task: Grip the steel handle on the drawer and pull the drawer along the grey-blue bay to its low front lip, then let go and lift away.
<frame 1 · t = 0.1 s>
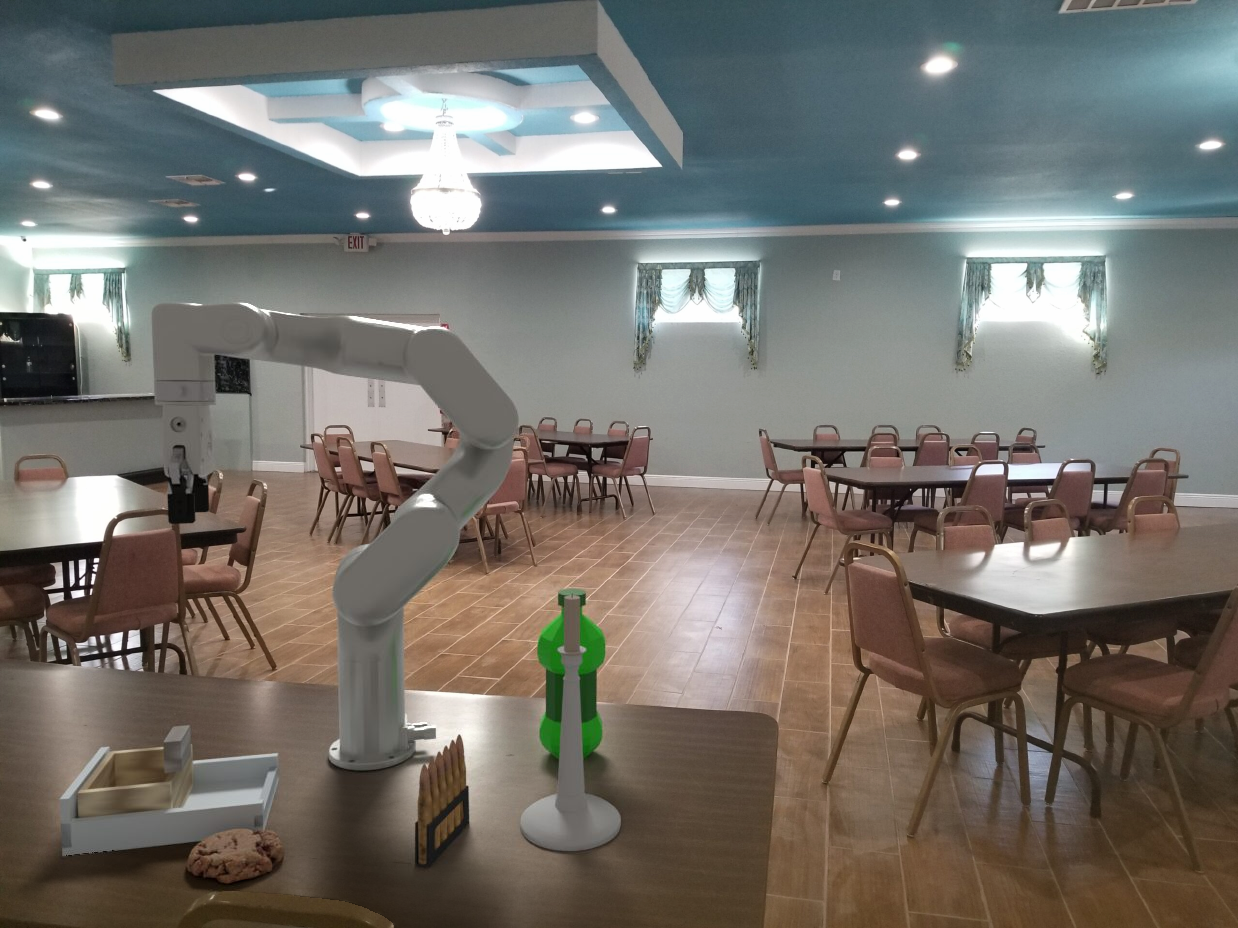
hand: (189, 517, 120), 37 cm above the table, tool pointing down, fingers open, 9 cm apart
bay: (180, 814, 111), on the table
candlestick: (570, 825, 110), on the table
drawer: (141, 773, 109), point 6 cm above the table, slide at 0.0 cm
cookie: (236, 865, 100), on the table
ammunition clip: (443, 844, 105), on the table
plastic bottle: (571, 755, 130), on the table
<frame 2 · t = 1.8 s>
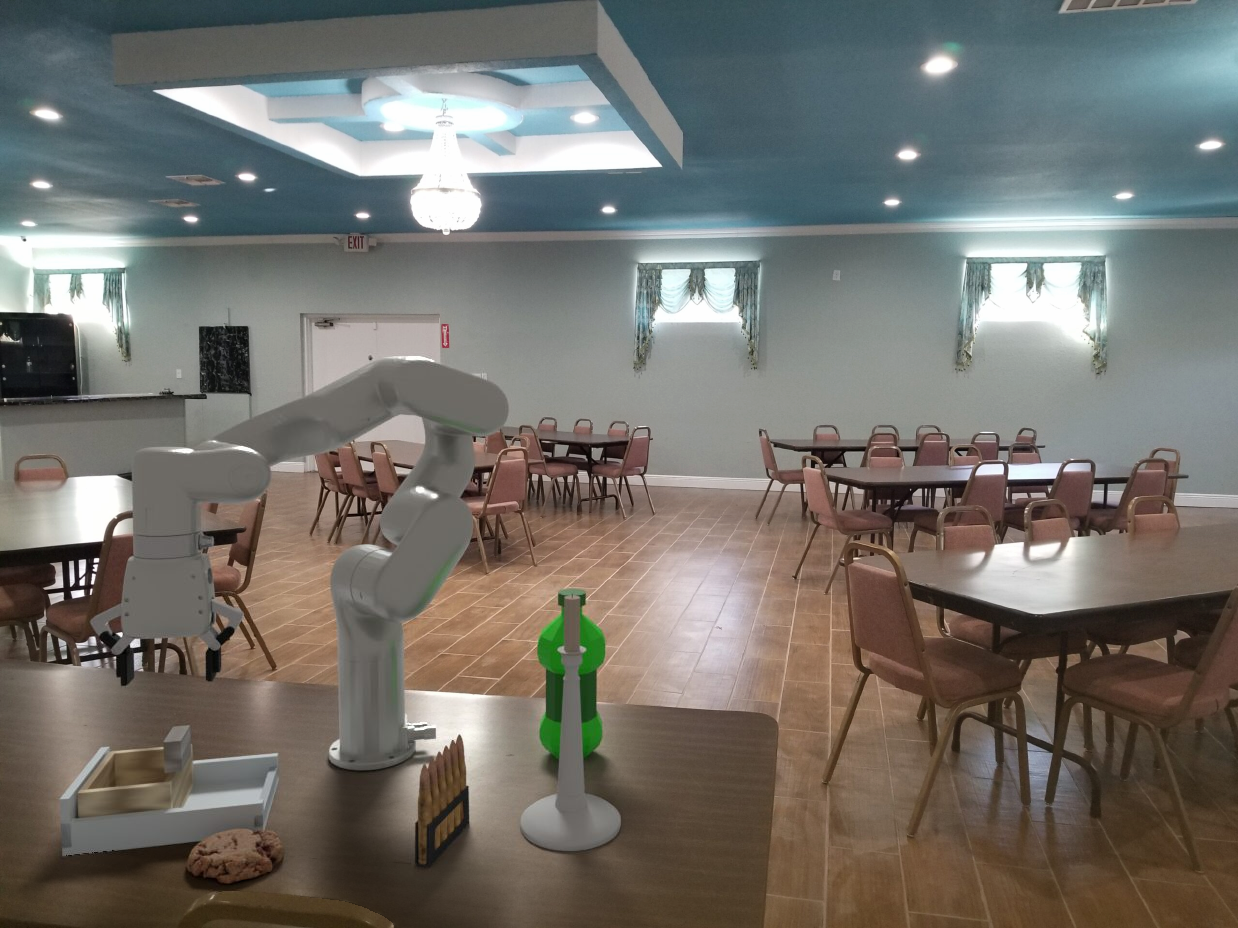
hand: (170, 680, 109), 18 cm above the table, tool pointing down, fingers open, 9 cm apart
nothing on the table moved.
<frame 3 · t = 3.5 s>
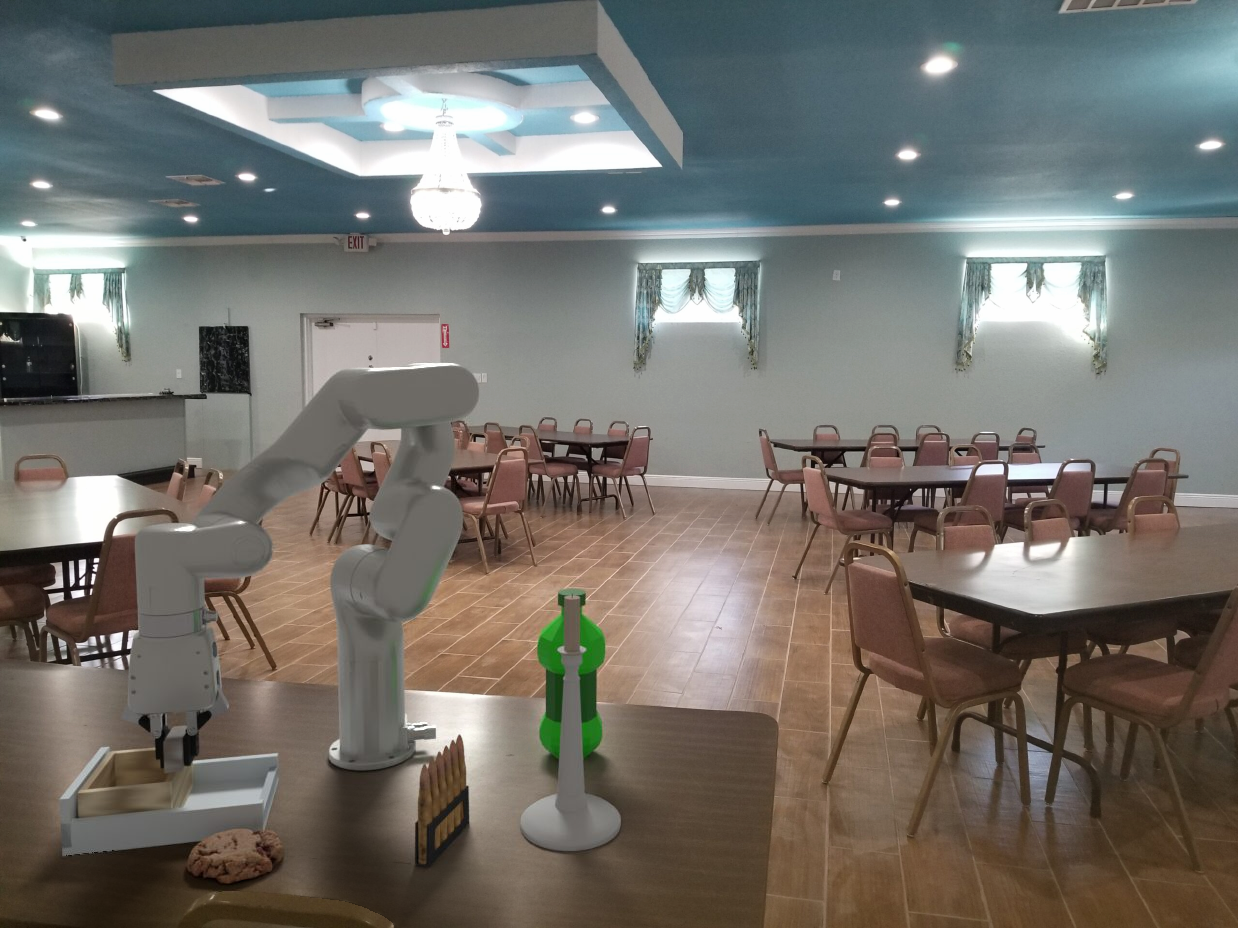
hand: (178, 761, 110), 7 cm above the table, tool pointing down, fingers closed on drawer, 2 cm apart
drawer: (141, 773, 109), point 6 cm above the table, slide at 0.0 cm, touching gripper
everything else where it was.
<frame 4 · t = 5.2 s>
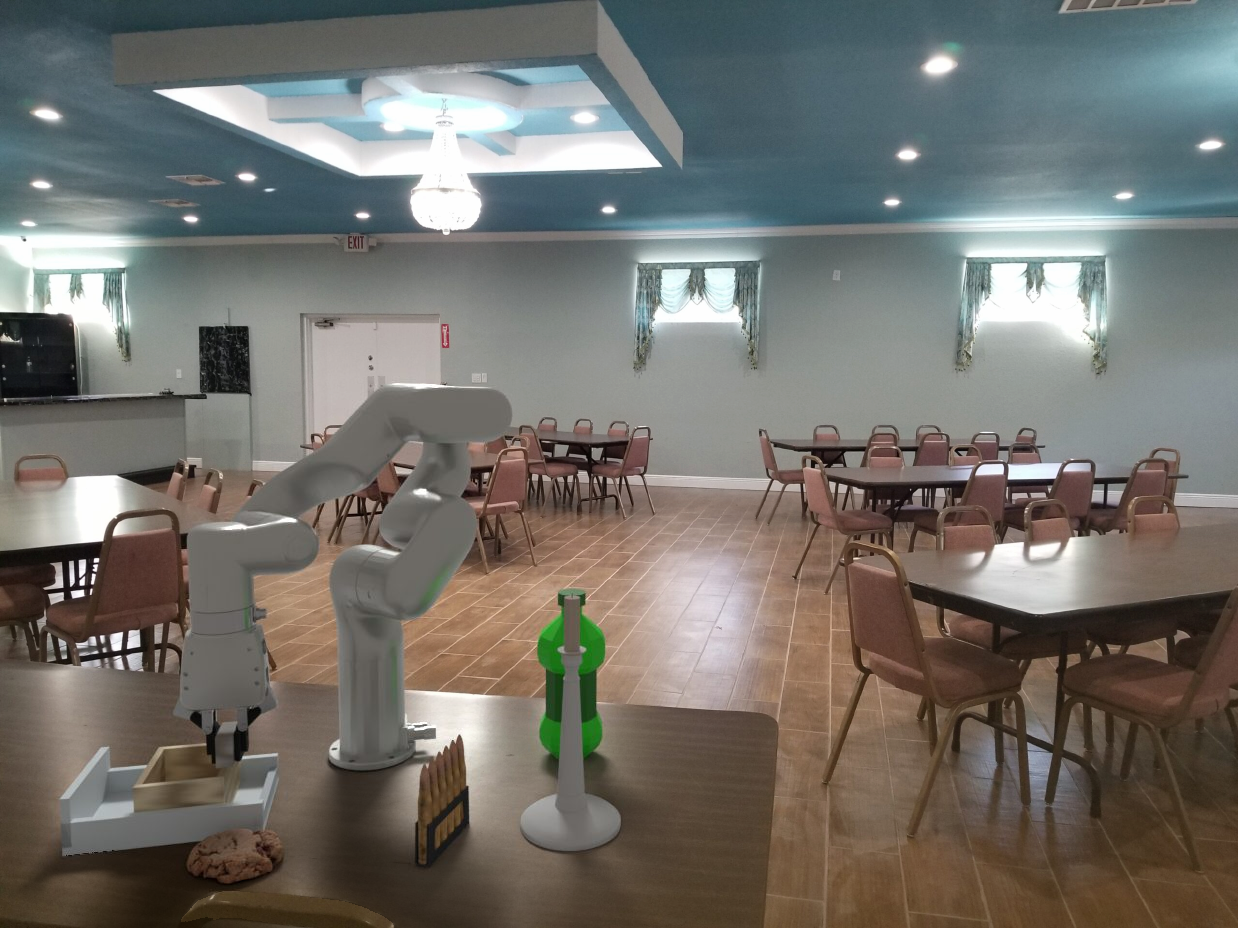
hand: (228, 756, 112), 7 cm above the table, tool pointing down, fingers closed on drawer, 2 cm apart
drawer: (192, 768, 111), point 6 cm above the table, slide at 5.9 cm, touching gripper
everything else where it was.
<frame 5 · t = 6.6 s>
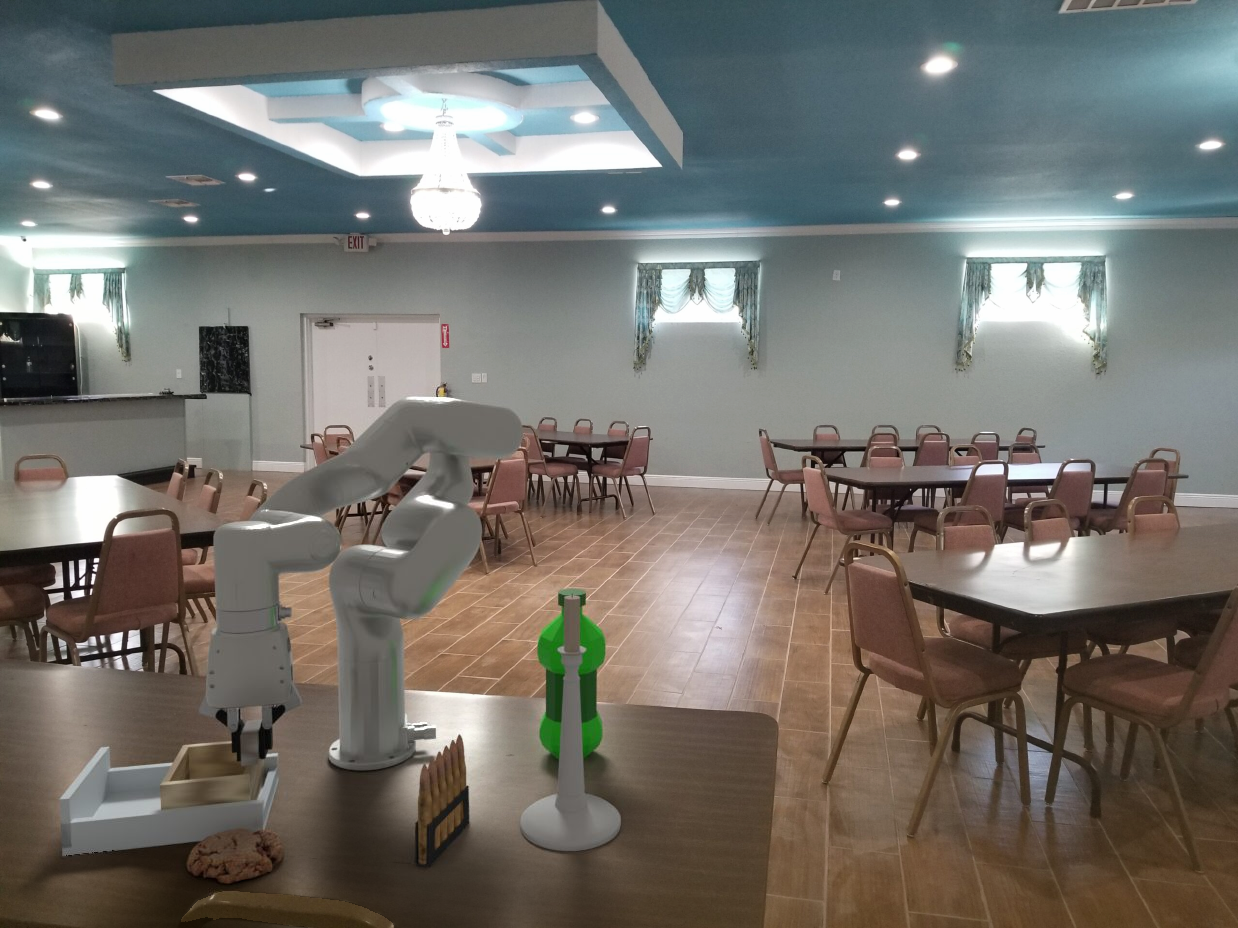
hand: (252, 754, 112), 7 cm above the table, tool pointing down, fingers closed on drawer, 2 cm apart
drawer: (217, 766, 111), point 6 cm above the table, slide at 8.9 cm, touching gripper
everything else where it was.
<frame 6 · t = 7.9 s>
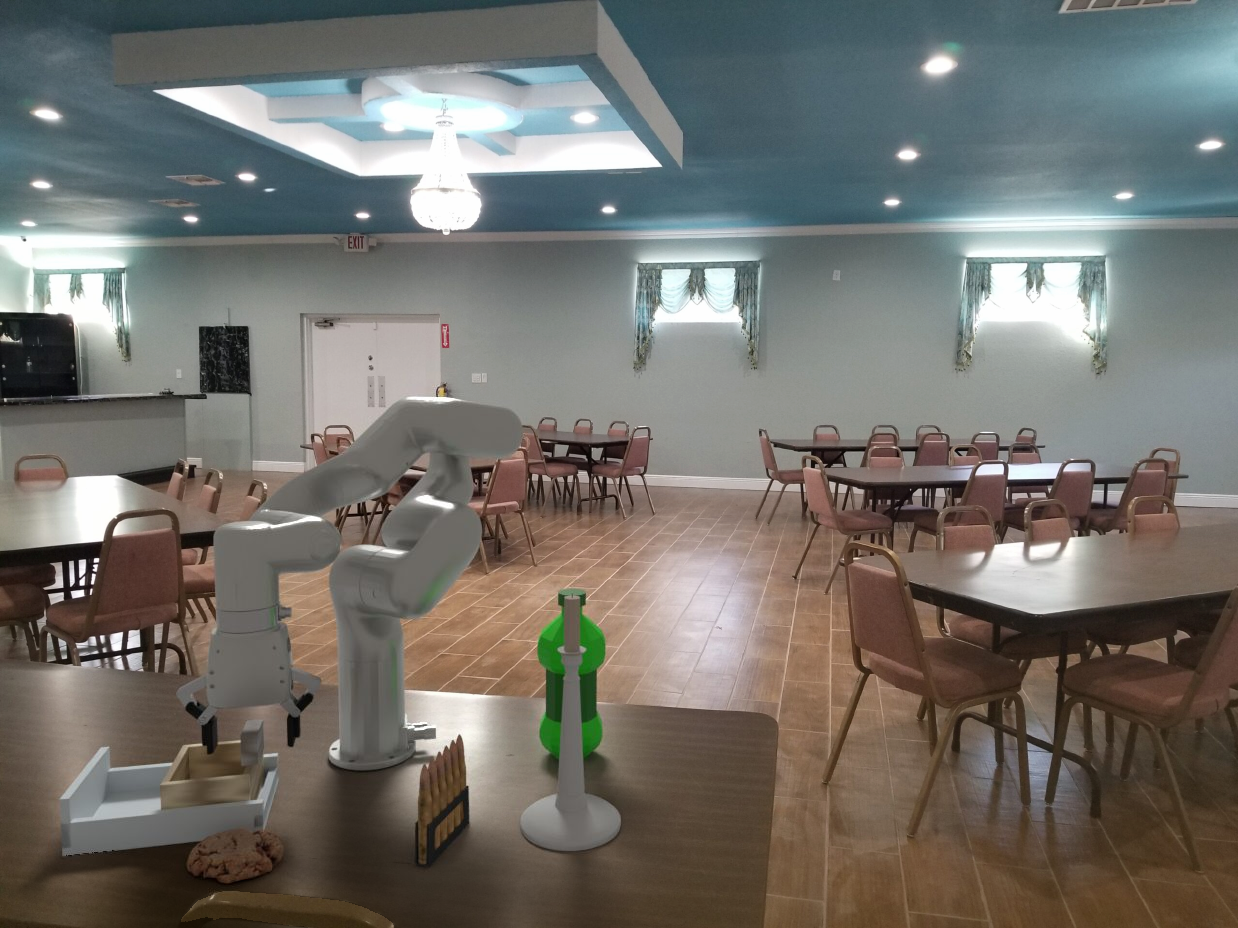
hand: (252, 746, 112), 8 cm above the table, tool pointing down, fingers open, 9 cm apart
drawer: (217, 766, 111), point 6 cm above the table, slide at 8.9 cm
everything else where it was.
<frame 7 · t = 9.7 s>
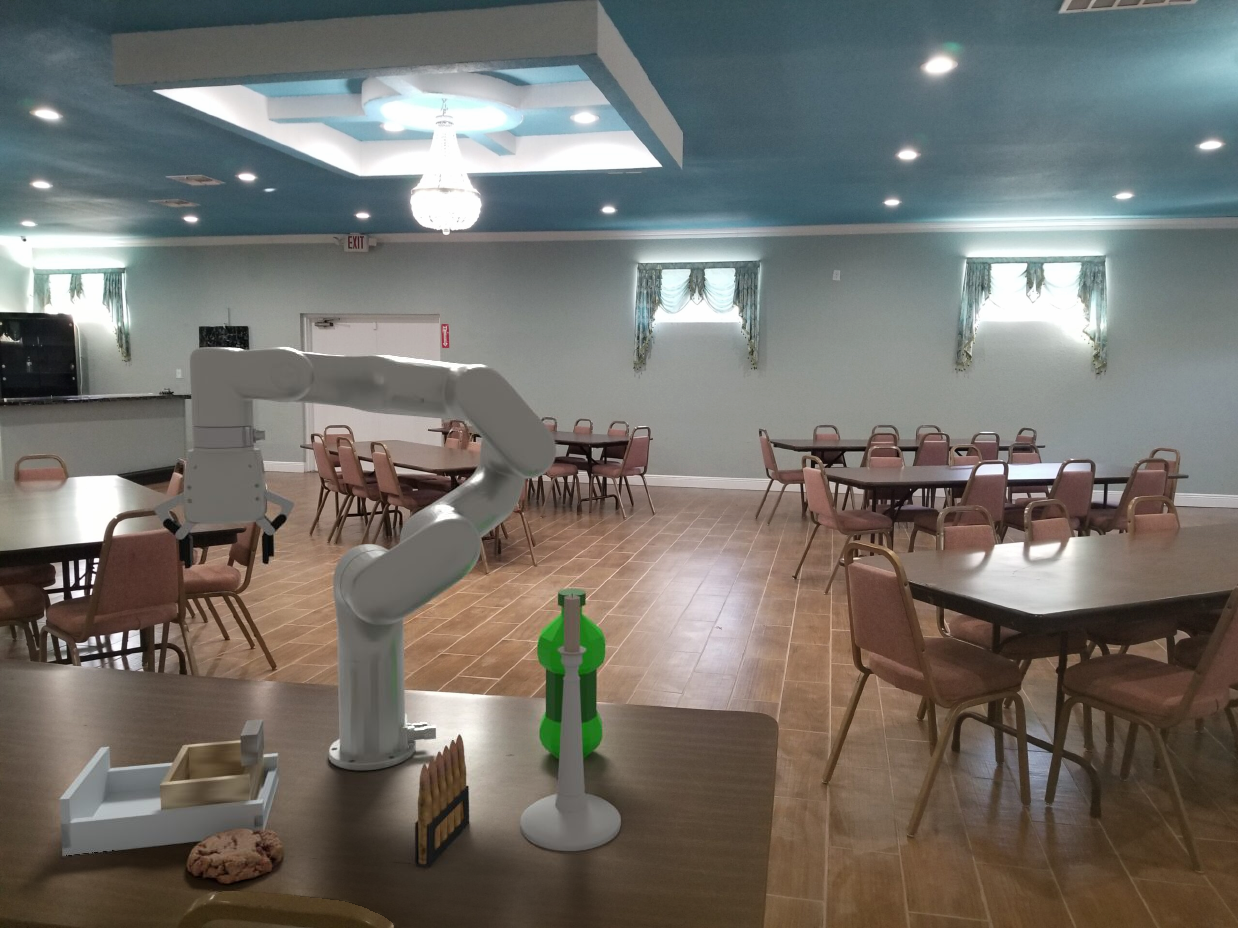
hand: (228, 564, 118), 31 cm above the table, tool pointing down, fingers open, 9 cm apart
nothing on the table moved.
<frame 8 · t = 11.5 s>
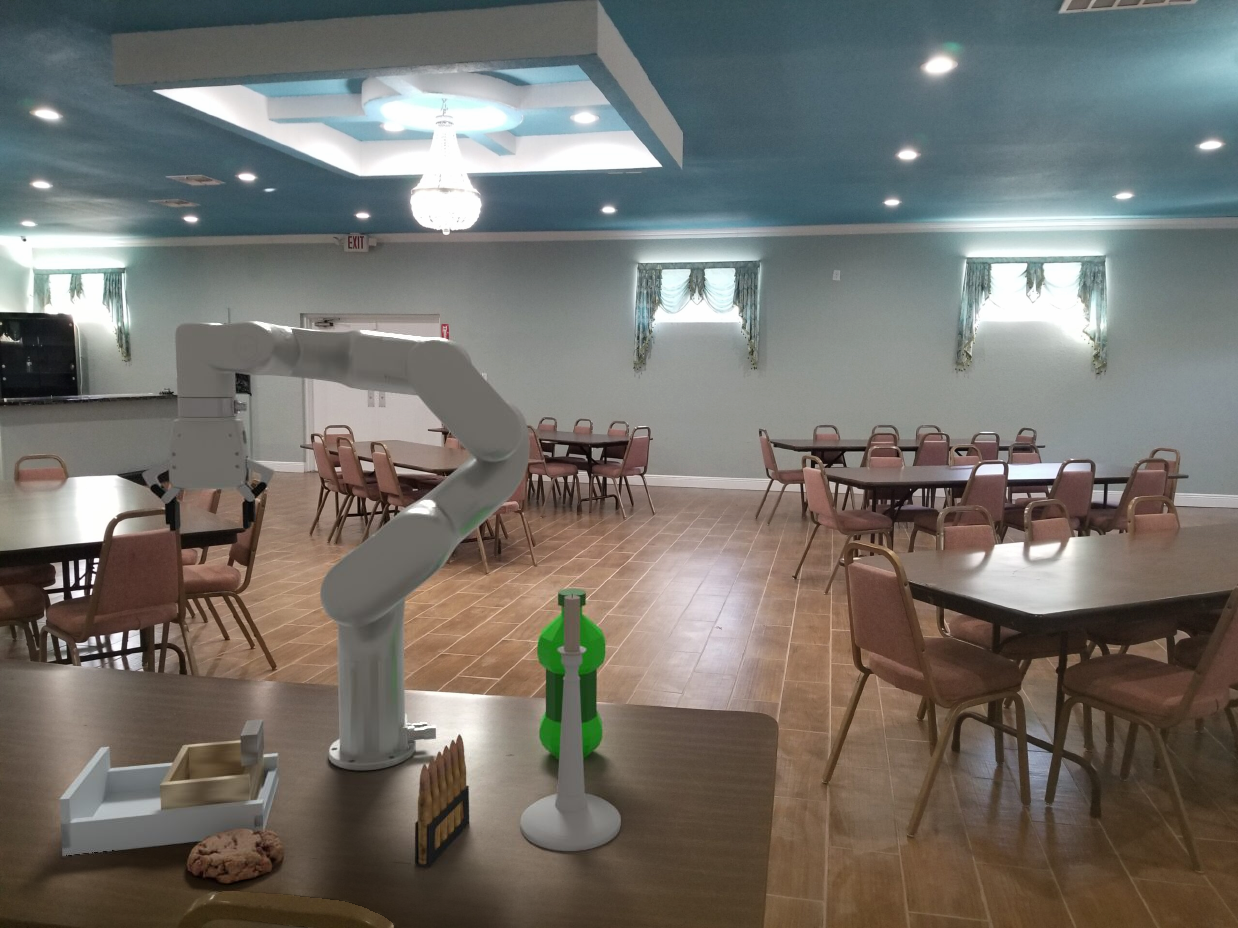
hand: (211, 528, 125), 34 cm above the table, tool pointing down, fingers open, 9 cm apart
nothing on the table moved.
at the end: drawer slide at 8.9 cm; the gripper is holding nothing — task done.
